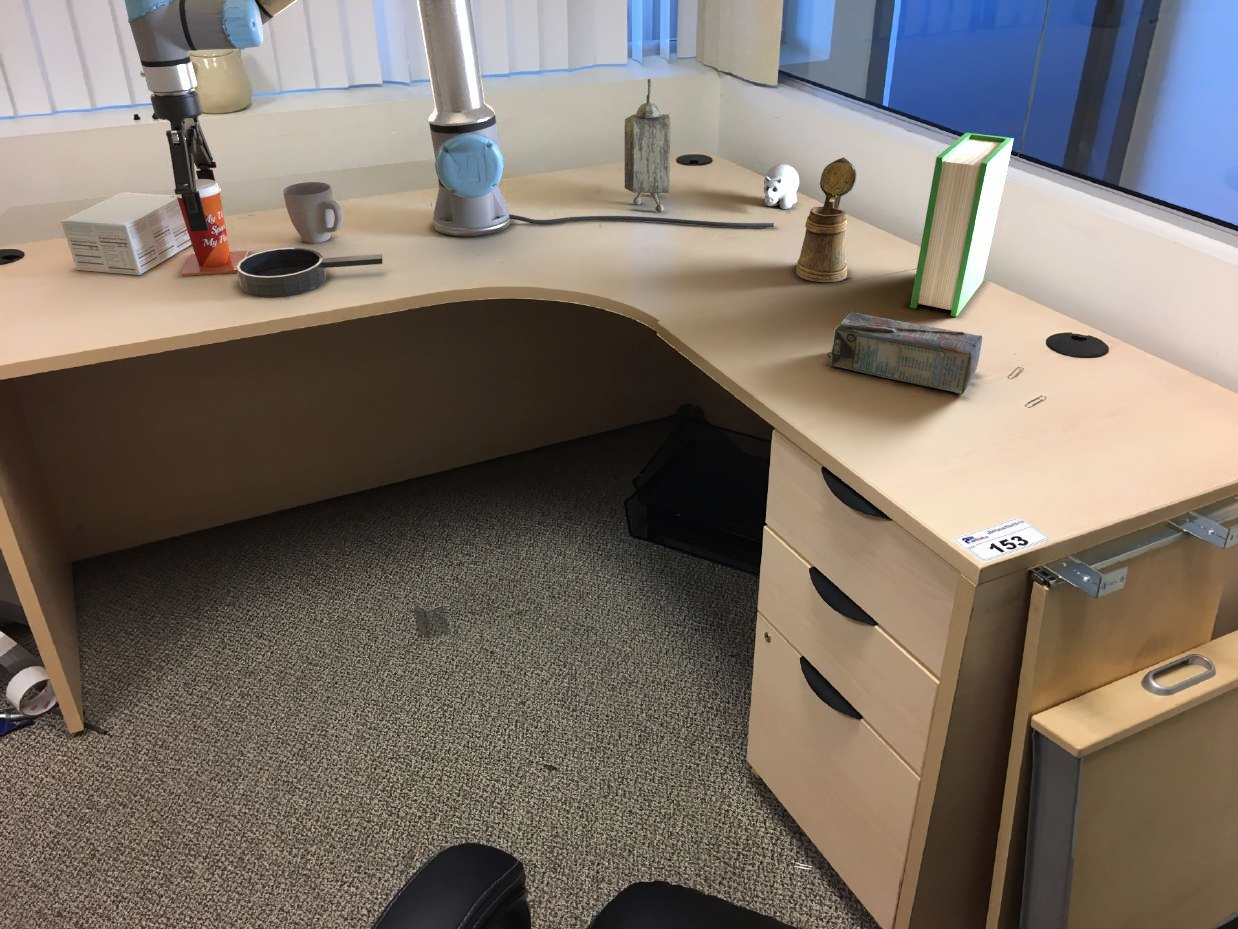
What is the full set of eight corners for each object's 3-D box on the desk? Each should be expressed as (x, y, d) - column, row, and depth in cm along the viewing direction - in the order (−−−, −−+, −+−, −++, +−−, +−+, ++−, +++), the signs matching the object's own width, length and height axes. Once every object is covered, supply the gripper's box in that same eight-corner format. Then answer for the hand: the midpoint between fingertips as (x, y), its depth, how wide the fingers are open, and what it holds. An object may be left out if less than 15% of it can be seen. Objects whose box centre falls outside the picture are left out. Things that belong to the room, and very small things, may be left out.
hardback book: (956, 316, 150) (987, 163, 137) (910, 307, 153) (936, 156, 140) (982, 281, 162) (1013, 138, 149) (939, 273, 165) (966, 132, 153)
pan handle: (382, 259, 166) (382, 253, 165) (382, 264, 164) (381, 258, 163) (324, 263, 164) (323, 257, 164) (323, 268, 162) (322, 262, 162)
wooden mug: (856, 259, 171) (870, 159, 162) (841, 285, 161) (855, 179, 151) (807, 253, 174) (818, 154, 164) (790, 278, 164) (800, 174, 154)
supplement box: (134, 239, 182) (120, 190, 177) (195, 243, 180) (183, 195, 174) (74, 270, 168) (57, 219, 163) (140, 275, 166) (125, 223, 161)
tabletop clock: (668, 215, 193) (671, 86, 180) (624, 215, 193) (624, 86, 180) (666, 194, 205) (669, 72, 192) (625, 194, 205) (625, 72, 192)
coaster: (248, 253, 175) (247, 250, 175) (240, 272, 167) (240, 269, 167) (192, 256, 174) (191, 254, 173) (181, 276, 165) (180, 273, 165)
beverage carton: (845, 346, 141) (851, 304, 137) (977, 374, 133) (987, 331, 129) (828, 367, 135) (833, 324, 131) (965, 398, 127) (975, 354, 123)
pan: (328, 264, 170) (325, 245, 168) (323, 293, 159) (319, 273, 157) (247, 269, 168) (242, 250, 166) (235, 300, 156) (230, 280, 154)
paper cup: (222, 270, 166) (203, 191, 159) (183, 267, 167) (162, 189, 160) (245, 255, 173) (228, 178, 165) (207, 252, 174) (189, 176, 166)
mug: (282, 241, 181) (272, 191, 175) (315, 228, 187) (307, 179, 182) (329, 251, 176) (320, 200, 171) (361, 237, 182) (354, 188, 177)
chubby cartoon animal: (748, 214, 194) (751, 172, 189) (769, 198, 203) (772, 158, 198) (782, 219, 191) (785, 176, 186) (801, 203, 200) (805, 162, 195)
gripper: (165, 77, 164) (197, 198, 176) (131, 108, 143) (170, 243, 155) (210, 75, 165) (239, 195, 177) (182, 105, 145) (217, 239, 156)
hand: (207, 218), depth 166 cm, fingers open, 13 cm apart
